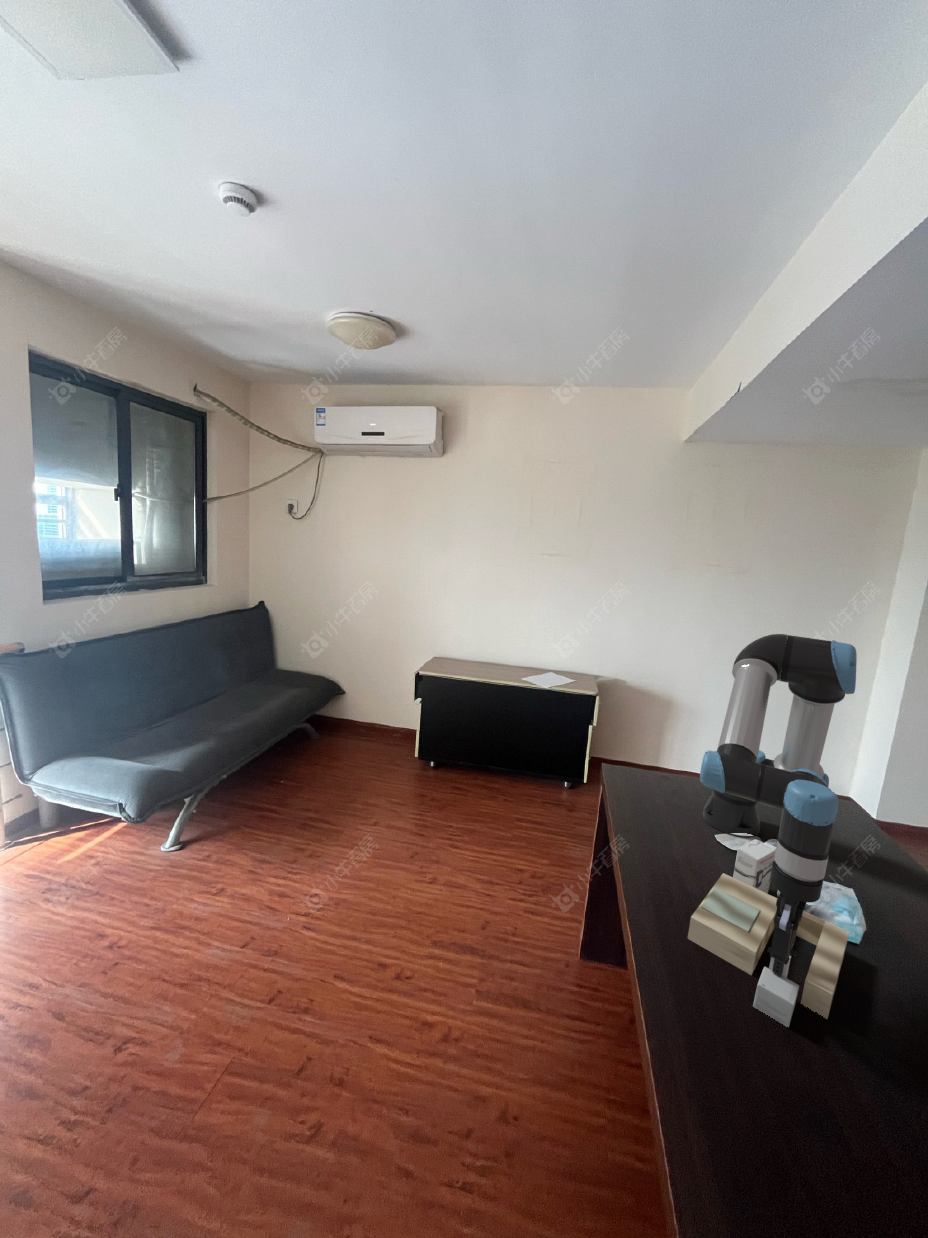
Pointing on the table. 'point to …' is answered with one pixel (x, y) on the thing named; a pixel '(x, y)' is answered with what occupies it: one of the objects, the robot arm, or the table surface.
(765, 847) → the ink box
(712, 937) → the board
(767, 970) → the small box
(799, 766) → the robot arm
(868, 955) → the table surface
